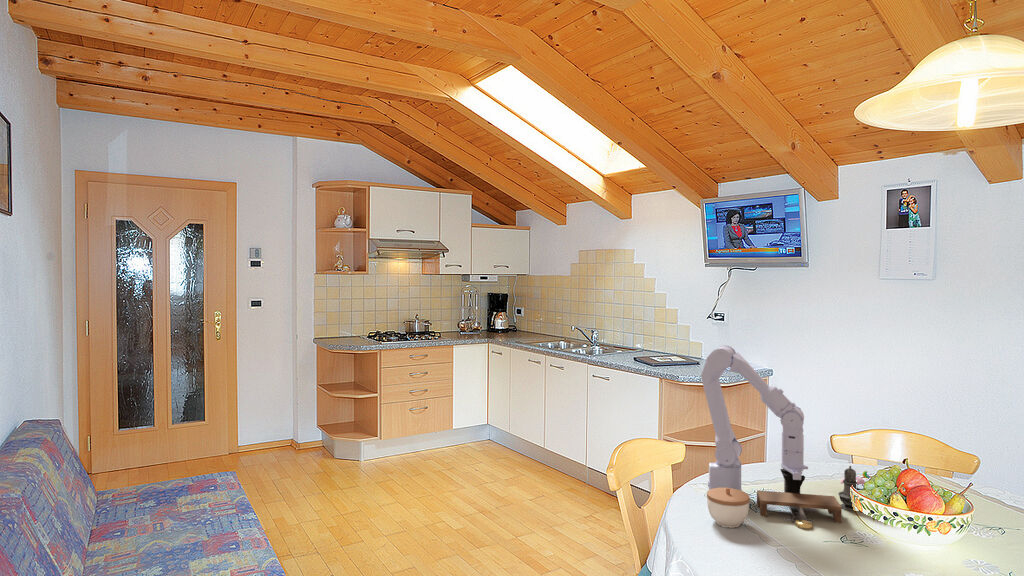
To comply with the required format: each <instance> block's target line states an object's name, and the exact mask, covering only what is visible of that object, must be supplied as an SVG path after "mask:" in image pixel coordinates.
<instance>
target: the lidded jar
mask: <svg viewBox="0 0 1024 576" xmlns="http://www.w3.org/2000/svg"><path fill="white" fill-rule="evenodd" d="M750 497H751V496H750V495H749V494H748V492H745V491H743V490H742V491H741V490H737V489H733V488H713V489H710V490H709V489H708V490H707V491H706V498H707V501H706V503H707V509H708V512H709V514H710V516H711V518H712V519H713V520H714V521H715V523H716V524H717V525H718V524H719V525H718V526H720V525H721V526H720V527H723V528H727V527H729V528H731V529H735V527H736V528H739V527H740V526H741V524H743V523H744V522H745V521H746V519H747V518H748V515H749V509H750V499H751V498H750Z"/></svg>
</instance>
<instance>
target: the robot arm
mask: <svg viewBox="0 0 1024 576" xmlns="http://www.w3.org/2000/svg"><path fill="white" fill-rule="evenodd" d="M727 369H728V372H730V373H734V374H735V373H736V374H739V375H740V376H742V377H743V378H744V379H745V380H746V381H747V382H748V383H749V384H750V385H751V386H752V387H753V388H755V390H756V391H758V393H760V401H761V402H762V403H764V405H765V406H766V407H767V408H768V409H769V410H770V411H771V412H772V413H773V414H774V415H775V416H776V417H778V418H779V419H780V420H779V421H780V424H781V425H782V432H781V463H780V469H779V470H780V472H781V474H782V477H783V479H784V478H785V480H786V484H787V489H788V493H799V491H800V492H801V488H802V485H803V483H804V482H805V480H806V475H804V474H803V471H805V470H808V469H809V466H808V465H807V464H804V459H805V458H804V449H805V447H804V446H805V445H804V443H805V442H804V441H805V439H804V436H805V435H804V427H803V426H804V421H805V415H804V412H803V410H802V409H801V407H799V406H797V405H796V403H795V402H792V401H791V400H789V398H787V396H785V394H784V390H783V389H782V388H778V387H777V386H773V385H772V386H771V385H769V384H768V383H767V382H766V381H765V380H764V379H763V378H762V377H761V375H759V373H758V372H757V371H756V370H755V369H754V368H753V367H752V366H751V364H749V362H748V361H747V360H746V358H744V357H743V356H742V355H741V354H740V353H739V352H736V350H735V349H734V348H733V347H732V346H730V345H728V344H727V345H726V344H725V345H724V344H723V345H720V346H718V347H717V348H716V349H713V350H712V351H711V352H710V354H709V355H708V356H707V357H706V360H705V364H704V367H703V368H702V372H701V374H700V379H701V382H702V386H703V390H704V394H705V398H706V403H707V406H708V410H709V414H710V418H711V421H712V425H713V426H712V427H713V429H714V433H715V435H714V436H715V440H714V441H715V443H714V444H715V452H714V453H715V454H714V455H715V456H714V457H715V459H716V461H715V462H708V481H707V487H708V490H710V489H713V488H733V489H737V490H741V491H743V488H742V462H741V461H740V459H739V457H740V456H741V454H742V453H743V448H742V445H741V443H740V442H739V441H738V440H737V437H736V434H735V432H734V430H733V428H732V424H731V421H730V420H731V419H730V417H729V414H728V409H727V405H726V401H725V397H724V393H723V389H722V386H721V381H720V378H721V376H722V375H723V373H724V372H725V371H726V370H727ZM802 474H803V475H802Z"/></svg>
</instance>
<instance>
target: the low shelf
mask: <svg viewBox="0 0 1024 576" xmlns="http://www.w3.org/2000/svg"><path fill="white" fill-rule="evenodd" d="M769 505H770V506H779V507H788V506H791V507H801V508H802V509H803V508H804V509H805V508H806V509H815V510H827V512H828V514H833V517H832V518H833V522H834V523H837V524H838V523H839V524H841V523H842V520H843V519H842V515H843V514H842V512H843V511H842V510H843V509H842V507H841V503H839V501H838V500H837V498H836V497H835V495H824V494H811V493H810V494H808V493H800V494H799V493H786V492H784V491H783V492H781V491H771V490H770V491H769V490H758V489H757V490H756V507H757V508H759V515H760V517H768V506H769Z"/></svg>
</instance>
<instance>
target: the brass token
mask: <svg viewBox="0 0 1024 576" xmlns="http://www.w3.org/2000/svg"><path fill="white" fill-rule="evenodd" d="M795 527H796V528H798V529H801V530H807V531H808V530H811V529H813V522H812V523H811V522H810V521H807V520H796V523H795Z"/></svg>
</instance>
